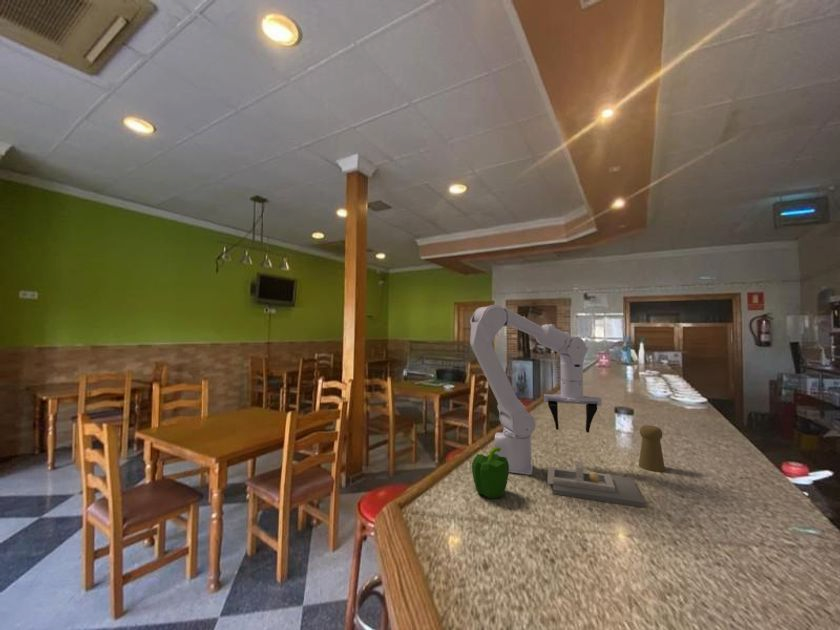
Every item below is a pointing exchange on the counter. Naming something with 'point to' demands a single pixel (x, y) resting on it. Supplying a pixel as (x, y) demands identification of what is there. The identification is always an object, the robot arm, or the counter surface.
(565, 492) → the plate
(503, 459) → the bell pepper
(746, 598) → the counter surface
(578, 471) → the double window frame
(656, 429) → the cork
